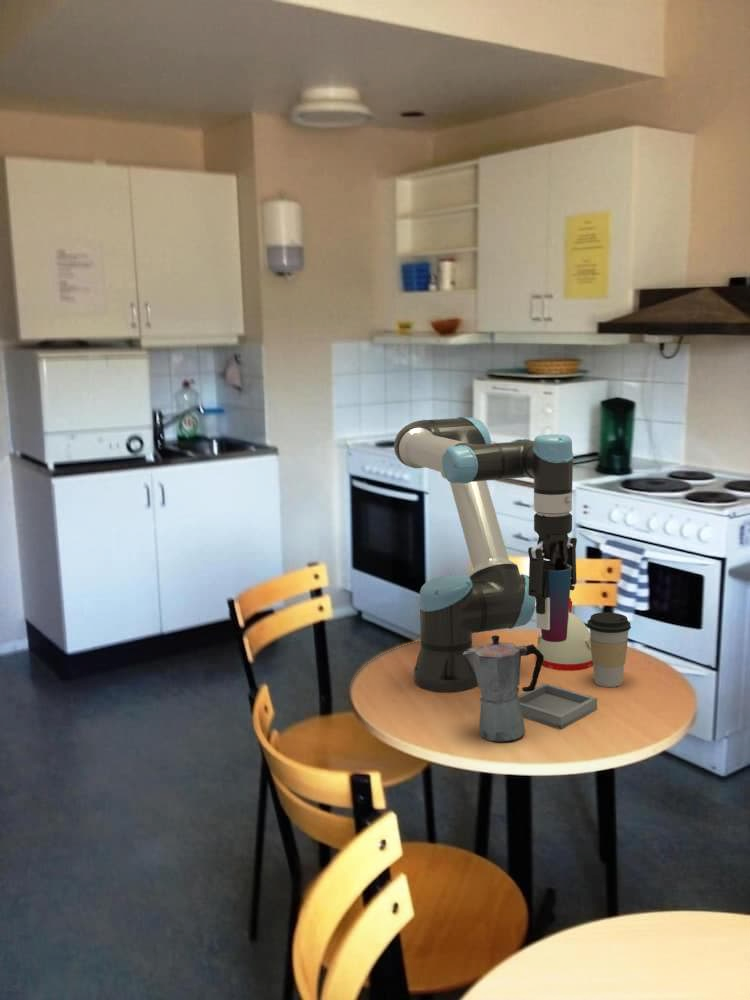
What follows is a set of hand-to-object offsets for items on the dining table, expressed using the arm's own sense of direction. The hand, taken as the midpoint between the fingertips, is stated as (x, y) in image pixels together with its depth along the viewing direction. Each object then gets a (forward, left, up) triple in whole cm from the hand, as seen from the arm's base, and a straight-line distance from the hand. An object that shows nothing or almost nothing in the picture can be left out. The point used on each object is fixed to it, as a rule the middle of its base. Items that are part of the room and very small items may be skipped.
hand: (552, 624), depth 190 cm
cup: (0, 0, -3) cm, 3 cm away
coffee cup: (0, +21, -19) cm, 28 cm away
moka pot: (-1, -15, -19) cm, 24 cm away
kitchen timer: (-15, +27, -19) cm, 36 cm away
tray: (0, 0, -19) cm, 19 cm away
